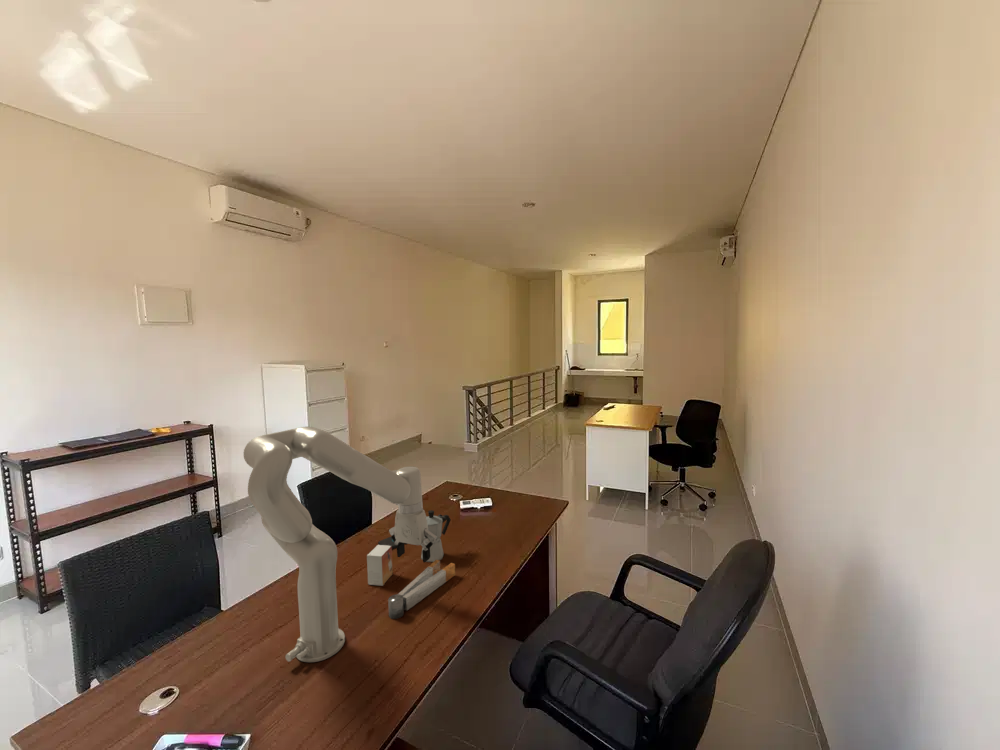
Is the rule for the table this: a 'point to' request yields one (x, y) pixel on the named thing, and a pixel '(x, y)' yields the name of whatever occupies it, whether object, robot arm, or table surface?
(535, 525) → the table surface
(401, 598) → the tongs hinge and fixed arm
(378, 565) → the small box
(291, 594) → the table surface
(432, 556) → the coffee maker
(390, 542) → the smart home device
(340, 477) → the robot arm
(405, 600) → the tongs loose arm
